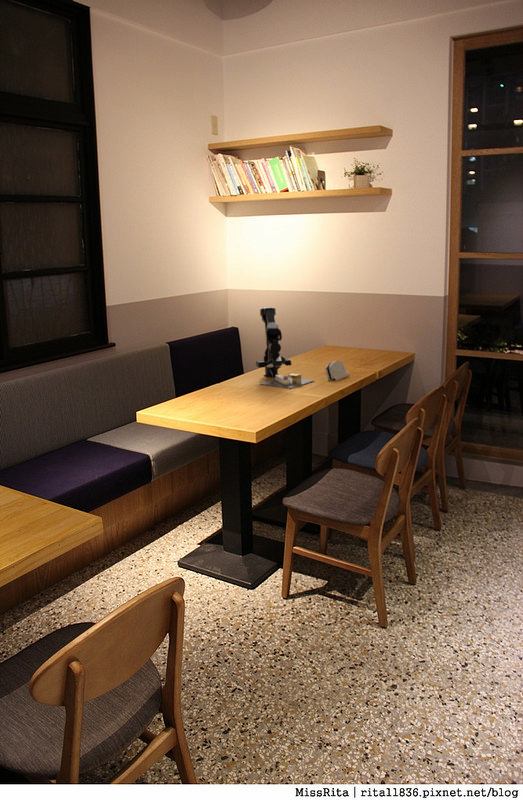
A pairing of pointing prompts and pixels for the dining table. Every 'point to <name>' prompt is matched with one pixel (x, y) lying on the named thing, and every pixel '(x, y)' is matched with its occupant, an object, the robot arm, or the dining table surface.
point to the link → (282, 379)
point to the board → (290, 386)
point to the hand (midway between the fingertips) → (273, 378)
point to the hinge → (336, 370)
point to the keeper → (295, 378)
